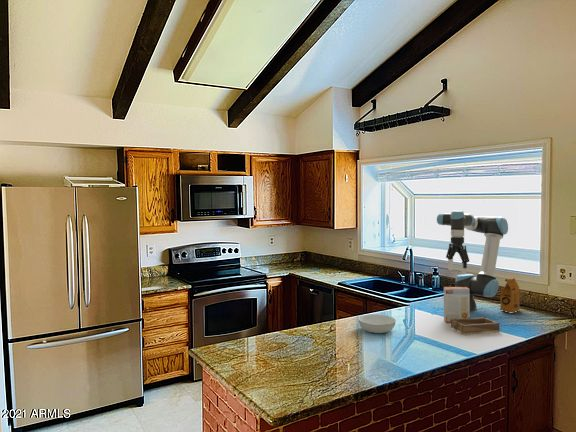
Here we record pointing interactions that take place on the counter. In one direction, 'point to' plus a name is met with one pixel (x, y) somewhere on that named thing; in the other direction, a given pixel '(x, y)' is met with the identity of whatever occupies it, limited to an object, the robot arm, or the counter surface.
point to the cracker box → (456, 303)
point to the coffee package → (510, 296)
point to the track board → (475, 326)
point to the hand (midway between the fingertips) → (457, 271)
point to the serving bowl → (377, 323)
